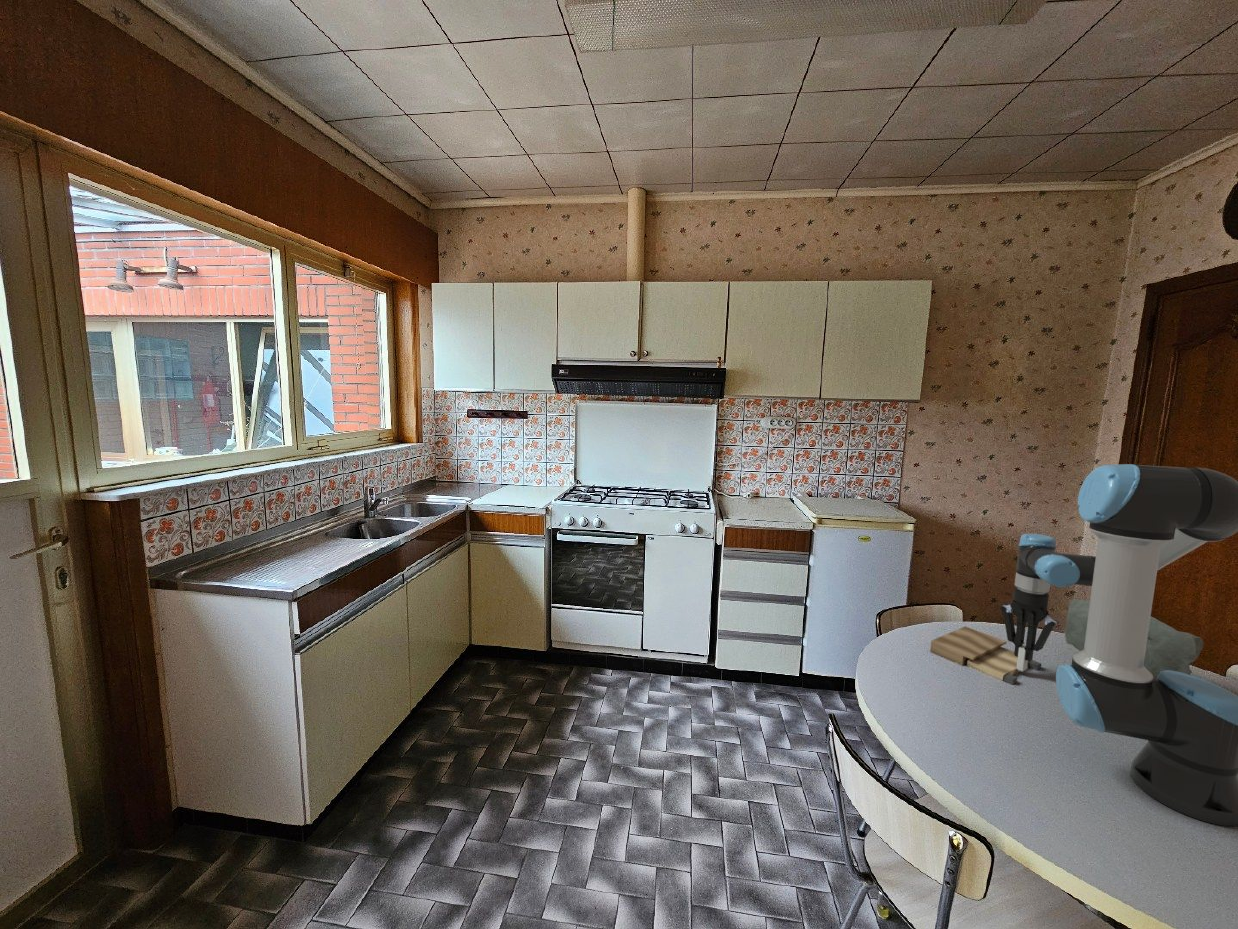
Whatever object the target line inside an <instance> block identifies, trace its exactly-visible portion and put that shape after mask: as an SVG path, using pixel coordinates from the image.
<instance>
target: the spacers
mask: <svg viewBox="0 0 1238 929" xmlns="http://www.w3.org/2000/svg"><path fill="white" fill-rule="evenodd" d="M1028 668H1030V669H1032V670H1035V671H1038V670H1040V669H1041V668H1042V663H1041V662H1040V661H1036V660H1034V659H1033V661H1031V662H1029V667H1028ZM1005 681H1006V682H1005ZM1003 682H1005V683H1008V684H1010V685H1014V684H1016V683H1017V682H1018V677H1017V676H1015V675H1010V674H1007V675H1006V676H1004V681H1003Z"/></svg>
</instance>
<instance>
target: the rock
mask: <svg viewBox="0 0 1238 929" xmlns="http://www.w3.org/2000/svg"><path fill="white" fill-rule="evenodd" d="M1068 604H1069V605H1068V610H1067V616H1066V620H1065V627H1064V628H1065V630H1064V637H1065V642H1066V644H1067V645H1071V646H1073V648H1075V649H1076V650H1078V652H1079V651H1082V650H1084V644H1085V636H1086V628H1087V621H1088V613H1089V605H1090V601H1088V600H1085V599H1083V600H1081V599H1079V598H1078V599H1077V598H1075V599H1072V600H1071V601H1069V603H1068ZM1203 647H1204V641H1203V639H1202V637H1200V636H1196V635H1194V634H1192V633H1190V632H1185V631H1178V630H1177V629H1175V628H1174V627H1172V626H1170V625H1168V624H1166V623H1165V622H1162V621H1160V620H1159V619H1157V618H1155V617H1153V616H1151V617H1150V623H1149V630H1148V637H1147V644H1146V651H1145V658H1144V664H1143V665H1144V667H1145V668H1146V669H1147V670H1148V671H1149V672H1150V673H1151V674H1152V675H1153V678H1157V675H1158V674H1159V673H1160V672H1161V671H1166V670H1170V671H1177V672H1181V673H1185V674H1189V675H1191V674H1192V673H1193V672H1192V670H1191V669H1190V665H1191V663H1193V662H1195V661H1196V660H1197V659H1198V658H1199V656H1200V654H1201V652H1202V650H1203V649H1204V648H1203ZM1157 679H1158V678H1157Z"/></svg>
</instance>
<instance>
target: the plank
mask: <svg viewBox="0 0 1238 929" xmlns="http://www.w3.org/2000/svg"><path fill="white" fill-rule="evenodd" d="M1017 659H1018V657H1016V656H1015V655H1014V651H1013V650H1010V649H1008V648H1005V647H1003V646H1000V647H998V648H996V649H994V650H992V651H990V652H988V653H986V654H984V655H982V656H980V657H978V658H976V659H974V660H972V659H969V660H967V663H966V667H968V666H969V667H968V668H970V667H971V669H972V670H975V669H976V670H975V671H977V670H978V672H980V671H981V672H980V673H982V674H985V675H986V676H989V675H990V676H989V677H991V676H993V677H992V678H994V679H996V680H999V681H1001V682H1005V681H1004V676H1006V675H1007V674H1010V675H1013V676H1015V675H1016V674H1018V673H1020V672H1021V671H1020V670H1017V669H1016V668H1017ZM1033 660H1034V659H1033V658H1032V660H1031V661H1033ZM1031 661H1028V664H1027V668H1030V667H1029V662H1031Z"/></svg>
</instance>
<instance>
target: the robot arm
mask: <svg viewBox="0 0 1238 929" xmlns="http://www.w3.org/2000/svg"><path fill="white" fill-rule="evenodd" d="M1077 506H1078V513H1079V515H1080V517H1081V518H1082V520H1084V521H1086V522H1087V523H1089V525H1088V526H1089V528H1088V529H1089V530H1090V531H1091V532H1092V533H1093V534H1094V535H1095V536H1096V537H1097V546H1096V552H1095V556H1094V555H1083V554H1074V553H1072V554H1071V553H1063V552H1058V551H1056V549H1057V546H1056V542H1057V540H1056V539H1055V538H1054V537H1052V536H1049V535H1045V534H1039V533H1031V532H1030V533H1024V534H1021V535H1020V540H1019V544H1017V545H1018V546H1017V547H1018V550H1017V551H1018V553H1017V559H1016V560H1017V561H1016V572H1015V577H1014V586H1015V587H1014V588H1013V594H1012V601H1011V602H1010V604H1008V605H1007V604H1003V605H1001V606H1000V608H999V609H1000V611H1001V613H1002V616H1003V619H1004V624H1005V631H1006V638H1007V641H1008V642H1009V643H1013V644H1014V651H1013V652H1014V655H1015V656H1016V657H1018V659H1017V668H1016V669H1017V670H1020V672H1025V671H1026V670H1028V667H1027V664H1028V661H1031V660H1032V659H1033V658H1034V651H1036V652H1039V651H1040V650H1042V649H1043V648H1044V646H1045V644H1047V643H1046V642H1047V640H1048V639H1049V636H1050V635H1051V633H1052V630H1053V629H1054V628H1055V627H1057V625H1058V624H1059V621H1058V620H1056V619H1053V618H1052V617H1051V616H1050V613H1049V611H1048V606H1049V598H1050V597H1049V596H1050V594H1049V592H1050V590H1051V589H1050V588H1051V586H1054V587H1056V588H1057V587H1058V588H1067V587H1071V586H1074V585H1075V586H1076V585H1077V586H1083V587H1084V586H1085V587H1091V591H1090V592H1091V593H1090V599H1089V602H1090V605H1089V613H1088V621H1087V628H1086V636H1085V644H1084V650H1082V651H1079V650H1078V651H1077V652H1075V653H1073V654H1072V658H1071V660H1072V661H1071V665H1070V664H1060V665H1059V666H1058V668H1057V669H1056V673H1055V683H1056V686H1055V687H1056V690H1057V694H1058V698H1059V701H1060V704H1061V706H1062V708H1063V710H1064V712H1065V714H1066V716H1067V717H1068V718H1069V720H1071V721H1072V722H1073V723H1074V724H1076V725H1077V726H1079V727H1080V728H1081V727H1082V728H1085V729H1089V730H1095V731H1098V732H1099V733H1108V734H1114V735H1118V736H1122V737H1123V736H1124V737H1129V738H1134V739H1141V740H1145V741H1147V742H1146V744H1145V745H1144V746H1143V747H1142V749H1141V750H1140V751H1139V752H1138V753H1137V755H1136V756H1135V757H1134V758H1133V760H1132V762H1131V763H1130V771H1129V775H1130V778H1131V780H1132V781H1133V782H1134V783H1135V784H1136V786H1137V787H1139V789H1141V790H1142V791H1143V792H1145V793H1146V795H1148V796H1150V797H1151V798H1153V799H1155V801H1157V802H1158V803H1160V804H1163V805H1164V806H1167V807H1168V808H1170V809H1172V810H1174V811H1176V812H1179V813H1181V814H1183V815H1185V816H1188V817H1191V818H1193V819H1196V820H1198V821H1199V820H1200V821H1203V822H1206V823H1210V824H1213V825H1218V826H1223V827H1224V826H1225V827H1235V826H1236V827H1237V826H1238V695H1236V694H1235V693H1233V692H1231V691H1230V690H1228V689H1226V688H1224V687H1222V686H1220V685H1218V684H1215V683H1213V682H1211V681H1208V680H1206V679H1203V678H1200V677H1197V676H1194V675H1189V674H1185V673H1181V672H1177V671H1170V670H1166V671H1161V672H1160V673H1159V674H1158V675H1157V679H1154V677H1153V675H1152V674H1151V673H1150V672H1149V671H1148V670H1147V669H1146V668H1145V667H1144V665H1143V664H1144V658H1145V651H1146V644H1147V637H1148V630H1149V623H1150V617H1151V615H1152V610H1153V601H1154V595H1155V587H1156V581H1157V573H1158V571H1159V570H1161V569H1163V568H1164V567H1166V566H1168V565H1169V564H1171V563H1173V562H1175V561H1176V560H1178V559H1180V558H1181V557H1183V556H1185V555H1187V554H1188V553H1190V552H1192V551H1194V550H1196V549H1197V548H1199V547H1201V546H1203V545H1204V544H1206V543H1208V542H1209V543H1215V542H1221V541H1223V540H1226V539H1229V538H1230V537H1231V536H1233V535H1235V534H1237V533H1238V480H1236V479H1235V478H1233V477H1232V476H1230V475H1228V474H1226V473H1224V472H1220V471H1218V470H1214V469H1210V468H1204V467H1193V466H1189V467H1185V466H1184V467H1181V466H1180V467H1179V466H1163V465H1162V466H1161V465H1146V464H1144V465H1142V464H1132V463H1130V464H1128V463H1124V464H1123V463H1122V464H1104V465H1101V466H1098V467H1096V468H1094V469H1092V471H1091V472H1090V473H1089V474H1088V475H1087V476H1086V477H1085V479H1084V480H1083V482H1082V484H1081V487H1080V489H1079V492H1078V497H1077ZM1013 614H1014V615H1015V616H1016V627H1015V621H1014V615H1013ZM1044 620H1045V621H1044ZM1042 621H1044V625H1045V626H1043V628H1042V629H1041V632H1040V634H1039V636H1038V638H1037V630H1038V626H1039V623H1040V622H1042ZM1026 625H1027V627H1026ZM1015 628H1016V629H1015ZM1026 628H1027V633H1026ZM1025 634H1026V635H1025ZM1025 636H1026V640H1025ZM1036 639H1037V640H1036ZM1024 644H1025V645H1024Z"/></svg>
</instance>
